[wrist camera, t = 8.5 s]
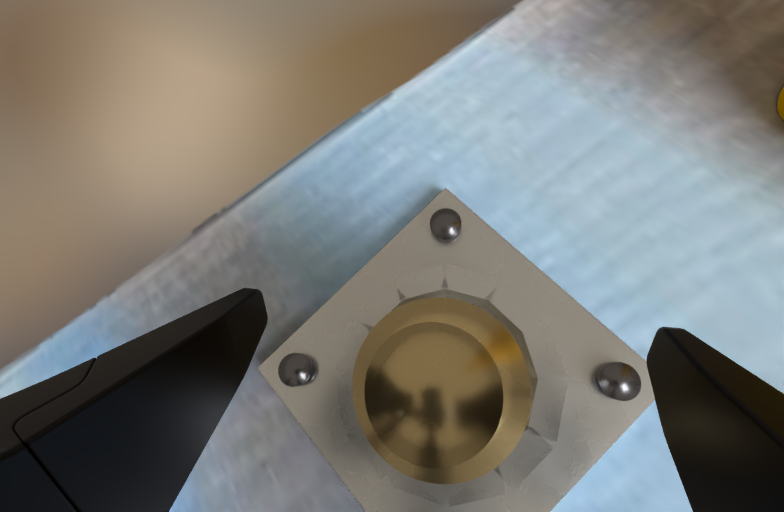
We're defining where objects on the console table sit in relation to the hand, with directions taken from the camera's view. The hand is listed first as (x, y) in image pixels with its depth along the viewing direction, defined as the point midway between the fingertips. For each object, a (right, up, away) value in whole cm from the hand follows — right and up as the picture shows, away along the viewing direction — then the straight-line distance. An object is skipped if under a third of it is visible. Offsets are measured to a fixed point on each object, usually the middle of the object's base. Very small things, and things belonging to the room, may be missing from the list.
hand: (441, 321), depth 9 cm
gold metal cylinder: (+1, -3, +7) cm, 8 cm away
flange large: (+1, -4, +8) cm, 9 cm away
